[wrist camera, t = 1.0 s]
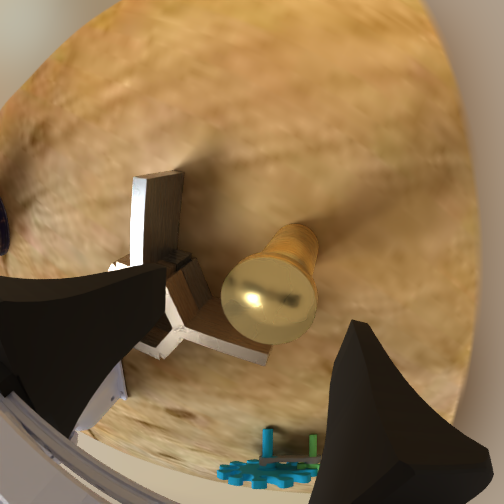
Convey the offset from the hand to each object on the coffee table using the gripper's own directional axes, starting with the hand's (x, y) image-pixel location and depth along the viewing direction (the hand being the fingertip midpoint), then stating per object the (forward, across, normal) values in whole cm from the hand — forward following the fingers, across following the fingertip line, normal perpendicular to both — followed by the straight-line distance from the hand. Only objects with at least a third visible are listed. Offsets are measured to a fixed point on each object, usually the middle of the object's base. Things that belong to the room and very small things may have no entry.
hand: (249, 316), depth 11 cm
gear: (+10, -4, +22) cm, 25 cm away
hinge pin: (+10, 0, 0) cm, 10 cm away
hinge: (+9, +6, +3) cm, 12 cm away
